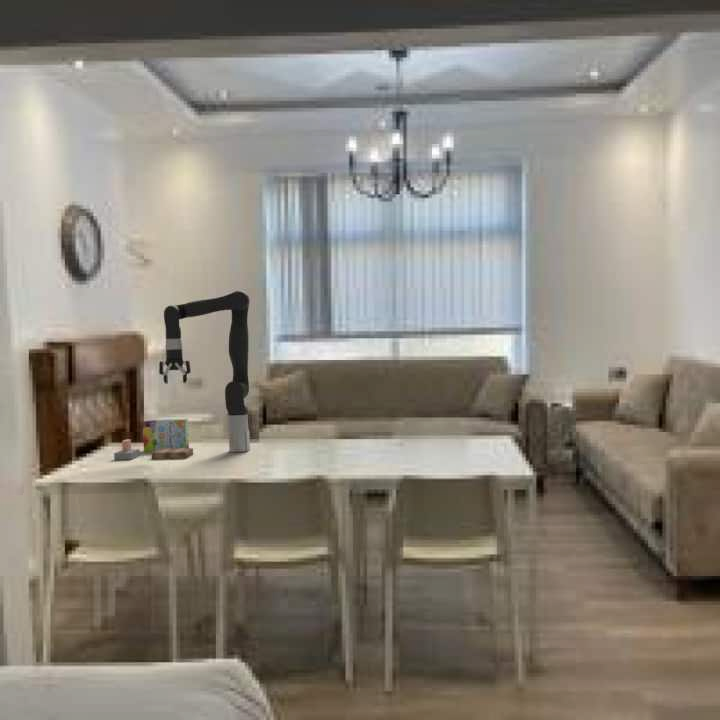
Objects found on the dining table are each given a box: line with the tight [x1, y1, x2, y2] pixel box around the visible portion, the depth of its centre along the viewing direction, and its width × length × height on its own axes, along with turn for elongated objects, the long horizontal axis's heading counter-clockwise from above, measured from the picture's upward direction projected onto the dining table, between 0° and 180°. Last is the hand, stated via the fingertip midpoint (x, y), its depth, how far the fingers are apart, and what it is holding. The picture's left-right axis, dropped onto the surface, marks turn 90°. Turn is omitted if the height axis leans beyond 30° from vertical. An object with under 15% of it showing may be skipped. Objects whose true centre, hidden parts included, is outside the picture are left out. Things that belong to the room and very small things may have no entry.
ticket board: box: [151, 447, 194, 460], centre depth 420 cm, size 16×12×3 cm
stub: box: [113, 439, 141, 461], centre depth 422 cm, size 8×12×8 cm, turn 176°
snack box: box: [142, 418, 190, 452], centre depth 442 cm, size 21×6×15 cm, turn 84°
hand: (175, 383), depth 429 cm, fingers open, 8 cm apart
